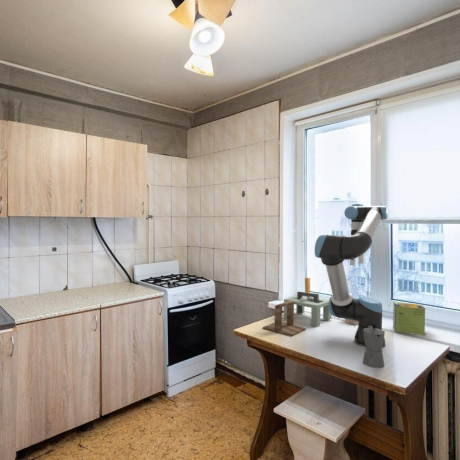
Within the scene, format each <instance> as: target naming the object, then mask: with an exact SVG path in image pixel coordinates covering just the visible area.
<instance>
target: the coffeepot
mask: <svg viewBox="0 0 460 460" xmlns="http://www.w3.org/2000/svg"><path fill="white" fill-rule="evenodd" d="M372 326H373V327H372ZM372 326H370V325H367V328H364V330H363V332H364V340H365V345H366V346H365V348H364V355H363V358H362V359H363V360H362V363H363V365H365V366H367V367H369V368H370V367H371V368H373V369H374V368H375V369H379V368H384V366H385V363H384V362H385V361H384V355H383V349H382V348H383V347H382V345H383V340H384V338H385V334H386V331H384V330H383V329H382V330H381V329H377V328H376V325H375V324H372Z"/></svg>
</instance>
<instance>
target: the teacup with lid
mask: <svg viewBox="0 0 460 460" xmlns="http://www.w3.org/2000/svg"><path fill="white" fill-rule="evenodd" d="M344 322H345V323H346V324H348V323H349V325H358V321H355V320H349V319H344Z"/></svg>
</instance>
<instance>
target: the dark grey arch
mask: <svg viewBox="0 0 460 460" xmlns="http://www.w3.org/2000/svg"><path fill="white" fill-rule="evenodd" d="M304 289H305V290H304V291H297V292H296V295H297V299H298V300H300V298H302V296H308V297H314V303H319V298H320V294H319V293H313V292H311V277H304ZM297 308H298V313H300V314H301V313H303V308H302V306H300V305H297Z"/></svg>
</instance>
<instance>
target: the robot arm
mask: <svg viewBox="0 0 460 460" xmlns="http://www.w3.org/2000/svg"><path fill="white" fill-rule="evenodd" d="M343 214H344V216H345V218H346V219H348V220H351V221H350V235H331V234H330V235H329V234H321V235H319V236H318V237H317V238H316V241H315V243H314V256H315V257H316V258H317V259H320V261H321V264H322V265H324V266H325V268H326V272H327V275H328V276H327V277H328V281H329V284H330V290H331V293H332V294H331V297H330V298H328V300H329V311H330V313H331V315H332V316H333V317H335V318H338V319H343V320H345V319H349V320H355V321H358V324H357V329H356V332H355V334H354V342H355V344H358V345H360V346H363V347H366V345H365V340H364V332H363V330H364V328H367V325H370V326H372V324H375V325H376V328H377V329H381V330H383V328H382V327H383V311H384V310H383V303H382V302H381V301H380V300H378V299H375V298H373V297H369V296H359V298H354V296H353V294H352V292H350V290H349V286H348V282H347V281H348V280H347V277H346V272H345V268H344V263H343V262H344V261H345V260H346V261H349V266H354V267H355V266H356V259H357V258H358V264H363V265H364V254H365V253H366V252H368V251H369V249H370V248H371V246H372V243H373V237H374V234H375V232H376V230H377V228H378V226H379V224H380V222H381V221H382V220H387V219H388V218H389V217H388V216H389V209H388V206H387V205H368V206H367V205H365V204H364V203H352V204H351V206H347V207H345V210H344V211H343ZM372 327H373V326H372ZM385 346H386V339H385V337H384V340H383V345H382V348H383V347H385Z"/></svg>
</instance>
